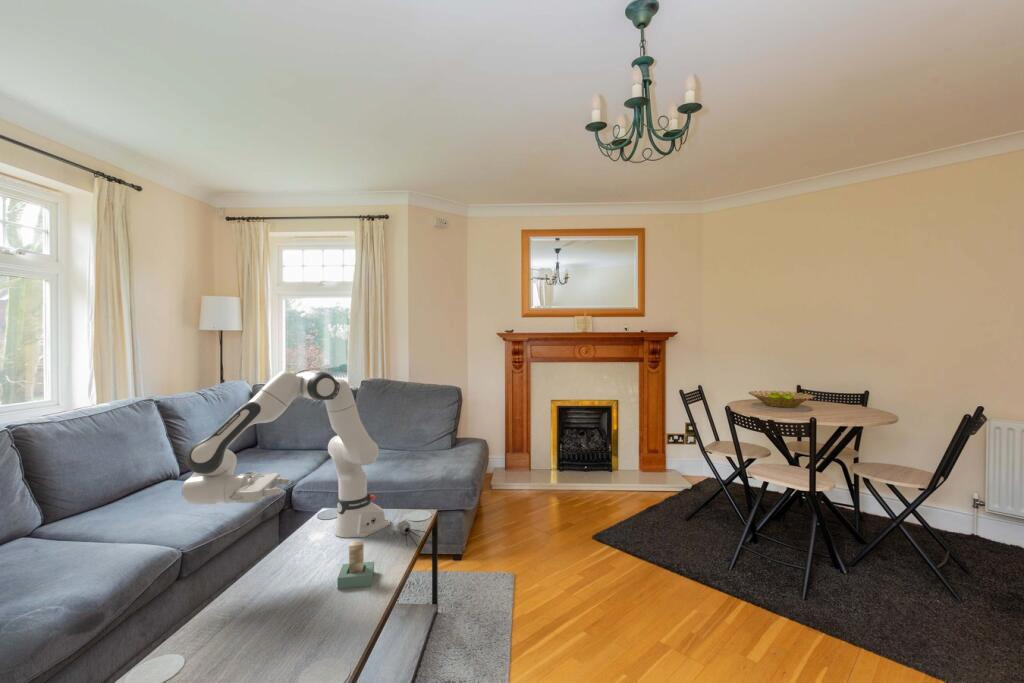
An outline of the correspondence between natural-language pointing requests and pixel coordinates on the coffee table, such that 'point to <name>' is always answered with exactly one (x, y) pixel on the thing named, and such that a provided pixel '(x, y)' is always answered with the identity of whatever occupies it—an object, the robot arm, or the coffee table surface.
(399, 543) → the coffee table surface
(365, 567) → the sage square frame
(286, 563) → the coffee table surface
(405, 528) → the reed diffuser
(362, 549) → the light wooden block
